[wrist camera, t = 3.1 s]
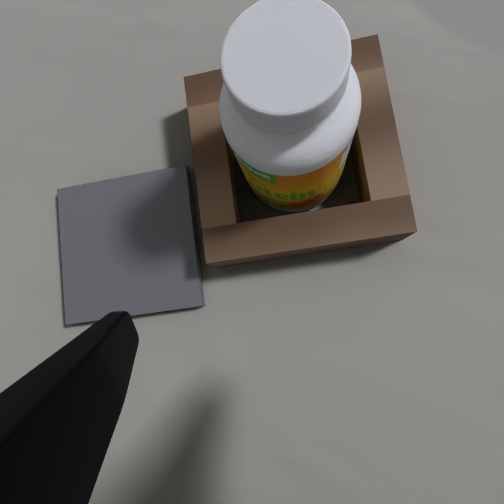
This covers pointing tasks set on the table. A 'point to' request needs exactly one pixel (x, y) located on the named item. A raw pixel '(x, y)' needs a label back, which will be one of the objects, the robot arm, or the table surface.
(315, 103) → the supplement bottle
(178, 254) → the rubber mat
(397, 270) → the table surface
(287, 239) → the walnut collar
